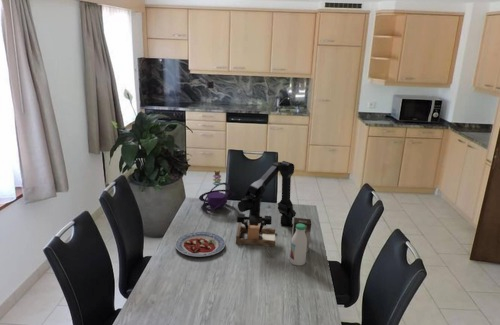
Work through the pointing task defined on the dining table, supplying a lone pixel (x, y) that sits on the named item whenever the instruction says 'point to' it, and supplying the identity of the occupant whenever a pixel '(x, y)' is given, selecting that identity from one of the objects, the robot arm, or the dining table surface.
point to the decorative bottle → (216, 194)
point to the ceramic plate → (200, 244)
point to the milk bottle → (298, 246)
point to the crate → (253, 231)
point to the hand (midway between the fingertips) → (253, 233)
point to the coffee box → (307, 230)
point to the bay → (266, 239)
